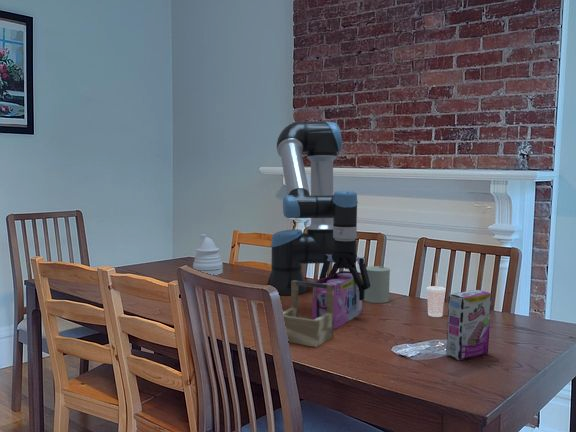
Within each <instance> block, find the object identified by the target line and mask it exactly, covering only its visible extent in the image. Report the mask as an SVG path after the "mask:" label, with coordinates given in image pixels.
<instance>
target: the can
mask: <svg viewBox="0 0 576 432" xmlns="http://www.w3.org/2000/svg"><path fill="white" fill-rule="evenodd" d="M366 269H367V273H368V277H369V281H370V285H371V287H370V288H368V289H365V298H364V300H363V301H364V302H367V303H371V304H385V303H388V302H390V277H391V276H390V275H391V274H390V272H391V269H390V267H386V266H378V265H377V266H375V265H372V266H371V265H370V266H366Z"/></svg>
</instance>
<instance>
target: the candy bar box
mask: <svg viewBox="0 0 576 432" xmlns="http://www.w3.org/2000/svg"><path fill="white" fill-rule="evenodd" d="M491 306H492V293H490V292H488V291H483V290H479V289H474V290H469V291H461V292H454V293H449V294H448V307H447V308H448V309H447V311H448V312H447V328H446V329H447V331H446V350H445V356H446V357H449V358H451V359H454V360H456V361H462V360H463V361H464V360H467V359H471V358H475V357H479V356H483V355H487V354H488V353H489V343H490V342H489V341H490V326H491V325H490V321H491Z"/></svg>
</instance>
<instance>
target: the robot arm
mask: <svg viewBox="0 0 576 432" xmlns="http://www.w3.org/2000/svg"><path fill="white" fill-rule="evenodd" d="M342 145H343V139H342V132H341V129H340V127H339V125H338V124H337V122H332V121H302V120H301V121H300V120H299V121H295V122H292V123H290V124H289V123H288V125H287V126H285V127H284V129H282V131H281V132H280V134H279V136H278V137H277V140H276V150H277V154H278V157H280V159H281V164H282V165H281V166H282V171H283V176H284V177H283V178H284V181H285V182H284V183H285V188H286V195H284V196H283V199H282V213H283V216H284V218H286V219H297V220H298V219H310V224H309V226H307V227H306V233H305V232H303V230H302V229H300V228H299V229H296V228H295V229H285V230H281V231H277V232H275V233H273V234H272V236H271V243H270V247H271V267H270V269H271V272H270V275H269V278H268V281H267V283H266V286H267V285H271V286H273V287H275V288H276V289H277V290H278V292H279V294H280V296H291V281H293V280H297V281H304V282H306V281H305V277H304V275H303V267H302V265H305V264H306V265H307V264H308V265H310V264H312V265H313V264H322V267H321V270H320V271H321V272H320V274H319V278H318V280H320V279H323V278H325V277H328V276H330V275H333V274H336V273H337V272H338V270H339V269H345V270H348V271H349V272H351V274H352V276H353V278H354V280H355V282H356V284H357V286H358V288H359V290H357V293H356V311H359V310H361V309H362V310H363V301H365V300H364V298H365V289H368V288H370V287H371V285H370V281H369V277H368V273H367V269H366V267H367V265H366V261H367V259H366V257H359V256H358V255H357V240H356V239H357V232H358V231H357V229H358V226H357V223H358V220H357V219H358V216H357V215H358V194H357V192H356V191H354V190H352V191H351V190H336V191H334V161H335V160H336V159H337V158H338V154H339V153H341V152H342V148H343V146H342ZM303 153H306V158H307V160H309V162H310V189H309V185H308V179H307V174H306V170H305V165H304V160H303ZM356 262H357V264H358V267H359V271H360V272H359V271H358V270H357V266H356ZM330 264H332V268H331V269H330V271H329V268H330ZM328 272H329V273H328ZM358 272H359V273H361V276H362V279H361V277H360V275H359V273H358ZM362 280H363V281H362ZM306 292H307V286H301V285H298V295H302V294H305V293H306Z"/></svg>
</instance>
